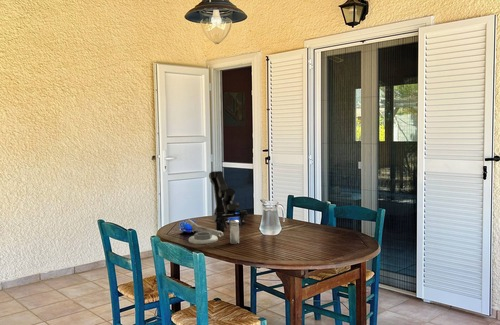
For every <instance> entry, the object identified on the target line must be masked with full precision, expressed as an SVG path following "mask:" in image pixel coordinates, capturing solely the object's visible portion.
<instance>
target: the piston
mask: <svg viewBox="0 0 500 325" xmlns="http://www.w3.org/2000/svg"><path fill="white" fill-rule="evenodd" d="M229 242H230V243H229V244H233V245H237V243H238V244H240V222H239V219H237V218H236V219H233V218H232V219H230V220H229Z"/></svg>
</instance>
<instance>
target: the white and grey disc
mask: <svg viewBox="0 0 500 325" xmlns="http://www.w3.org/2000/svg"><path fill="white" fill-rule="evenodd" d="M218 237H219V236H215V235H212V233H210V232H202V231H198V232H195V233H194V234H193V235H191V236H190V237H189V238H188V242H189V243H190V244H195V245H207V244H213V243H216V242H218V240H219V238H218Z"/></svg>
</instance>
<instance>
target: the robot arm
mask: <svg viewBox="0 0 500 325" xmlns="http://www.w3.org/2000/svg"><path fill="white" fill-rule="evenodd" d="M208 177H209V180H210V183H211V184H212V186H213V192H214V199H215V200H214V202H215V209H214V211H213V212H214V213H213V215H212V220H213V221H212V222H213V223H215V230H217V231H221V232H223V233H224V232H226V230H227V229H228V228H227V224H226V222H228V219H233V218H238V220H239V227H240V228H241V229H242V228H243V224H244V221H245V220H246V219H247V217H248V212H247V210H240V211H239V213H238V212H237V209H239V208H240V207H241V206H240V203H239V202H234V203H233V201H234V198H235V194H236V191H235V189H234V188H232V187H231V186H229V185H227V183H226V180H225V177H224V171H221V170H219V171H218V170H217V171H216V170H215V171H210V172H209V174H208Z"/></svg>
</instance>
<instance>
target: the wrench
mask: <svg viewBox="0 0 500 325" xmlns="http://www.w3.org/2000/svg"><path fill="white" fill-rule="evenodd" d="M184 224H188V225H189V224H190V225H191V226H192V232H193V233H194V232H195V231H198V232H210V233H212V235H215V236H217V237H219V238H221V237H224V232H221V231H217V230H216V229H213V228H208V227H204V226H201V225H199V224H197V223H196V222H194V221H193V220H192V219H186V220H185V221H184ZM194 234H195V233H194Z"/></svg>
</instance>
